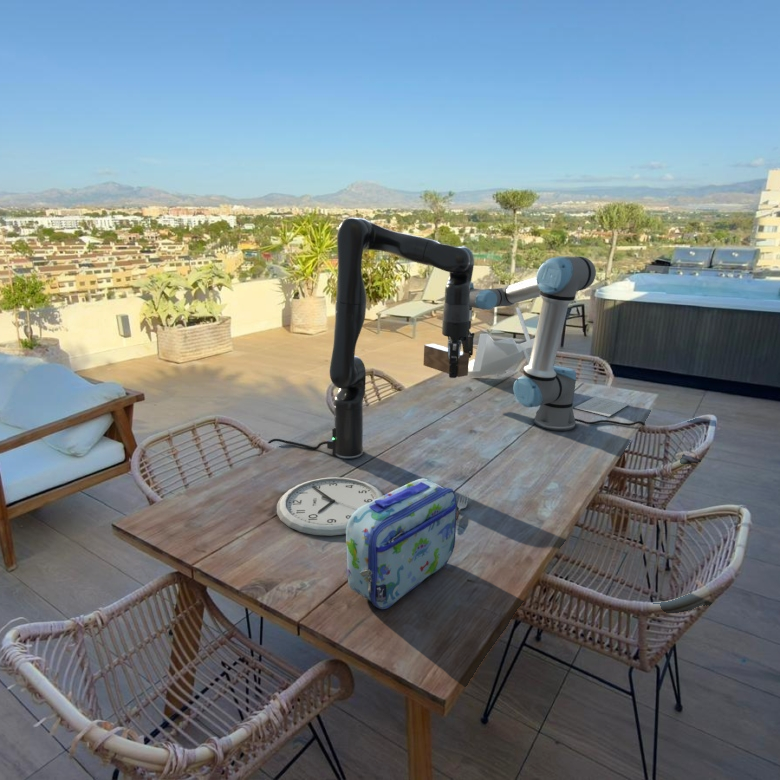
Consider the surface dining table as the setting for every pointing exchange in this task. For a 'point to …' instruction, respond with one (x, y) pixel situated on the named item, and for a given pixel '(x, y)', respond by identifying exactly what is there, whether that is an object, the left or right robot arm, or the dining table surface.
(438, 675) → the dining table surface
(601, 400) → the grey wooden board
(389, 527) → the lunch box
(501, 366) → the white plastic object
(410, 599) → the dining table surface
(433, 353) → the bar
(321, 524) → the wall clock
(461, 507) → the fork
